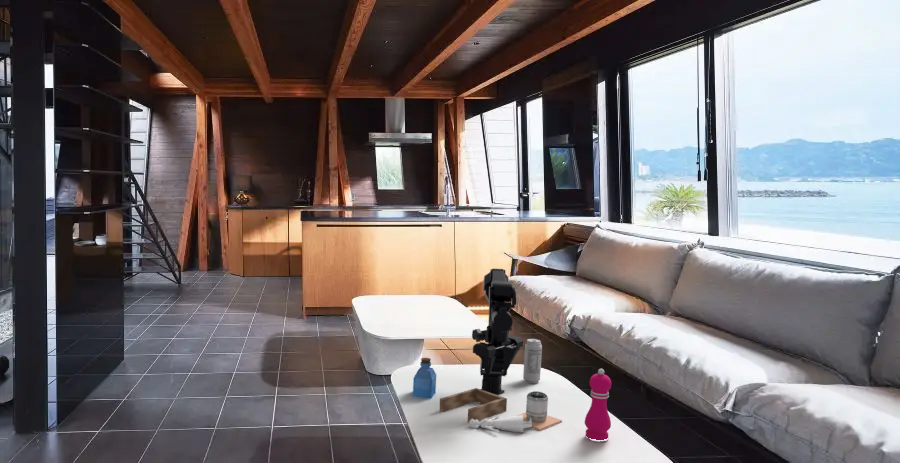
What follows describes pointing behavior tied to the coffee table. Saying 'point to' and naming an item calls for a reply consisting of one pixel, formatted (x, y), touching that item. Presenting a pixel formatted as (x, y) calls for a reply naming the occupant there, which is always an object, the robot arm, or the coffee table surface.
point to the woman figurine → (502, 423)
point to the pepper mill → (598, 407)
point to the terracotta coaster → (542, 425)
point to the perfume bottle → (424, 380)
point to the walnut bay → (488, 400)
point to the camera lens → (536, 406)
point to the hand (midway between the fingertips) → (496, 372)
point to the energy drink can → (532, 361)
